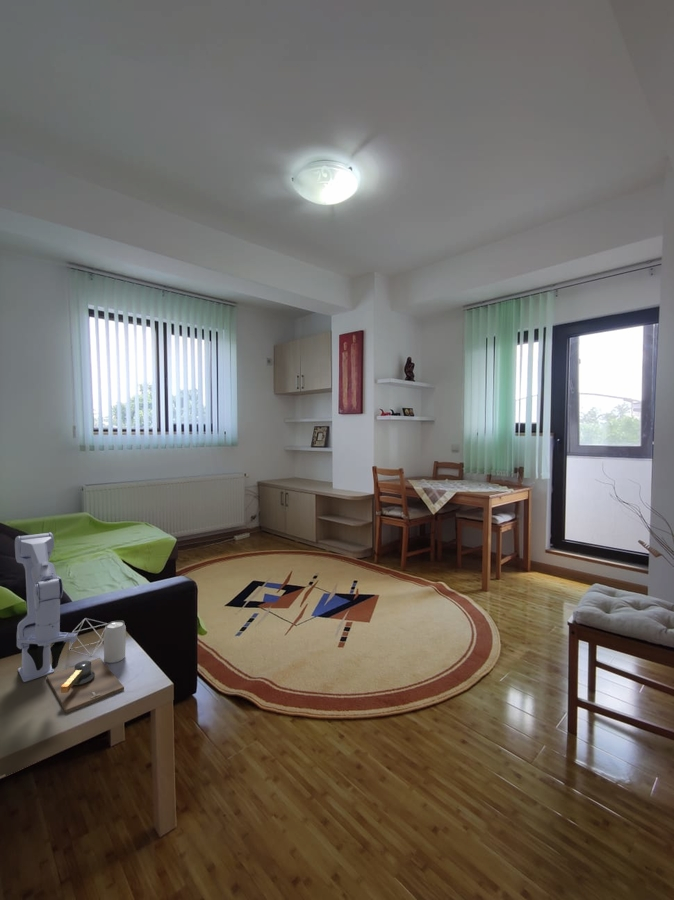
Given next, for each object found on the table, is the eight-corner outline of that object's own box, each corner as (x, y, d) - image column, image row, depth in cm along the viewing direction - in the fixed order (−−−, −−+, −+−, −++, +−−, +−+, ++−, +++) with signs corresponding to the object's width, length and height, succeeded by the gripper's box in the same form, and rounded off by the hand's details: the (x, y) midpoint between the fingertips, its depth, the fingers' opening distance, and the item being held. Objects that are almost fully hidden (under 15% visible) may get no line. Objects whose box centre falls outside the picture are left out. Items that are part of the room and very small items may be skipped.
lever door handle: (75, 672, 129) (75, 660, 129) (98, 671, 130) (98, 659, 130) (50, 700, 116) (51, 686, 116) (77, 699, 117) (77, 685, 117)
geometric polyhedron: (92, 638, 154) (92, 614, 153) (114, 643, 150) (114, 619, 150) (60, 654, 142) (60, 628, 141) (83, 661, 138) (83, 635, 138)
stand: (46, 678, 128) (46, 674, 128) (99, 660, 139) (99, 657, 139) (66, 713, 113) (66, 709, 113) (123, 689, 124) (124, 686, 124)
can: (120, 651, 145) (121, 618, 144) (128, 658, 141) (129, 624, 140) (100, 658, 140) (101, 624, 139) (108, 666, 136) (109, 630, 135)
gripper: (11, 630, 112) (10, 678, 112) (70, 626, 115) (70, 673, 116) (24, 618, 118) (23, 664, 119) (80, 615, 122) (79, 659, 122)
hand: (47, 667), depth 118 cm, fingers open, 3 cm apart
